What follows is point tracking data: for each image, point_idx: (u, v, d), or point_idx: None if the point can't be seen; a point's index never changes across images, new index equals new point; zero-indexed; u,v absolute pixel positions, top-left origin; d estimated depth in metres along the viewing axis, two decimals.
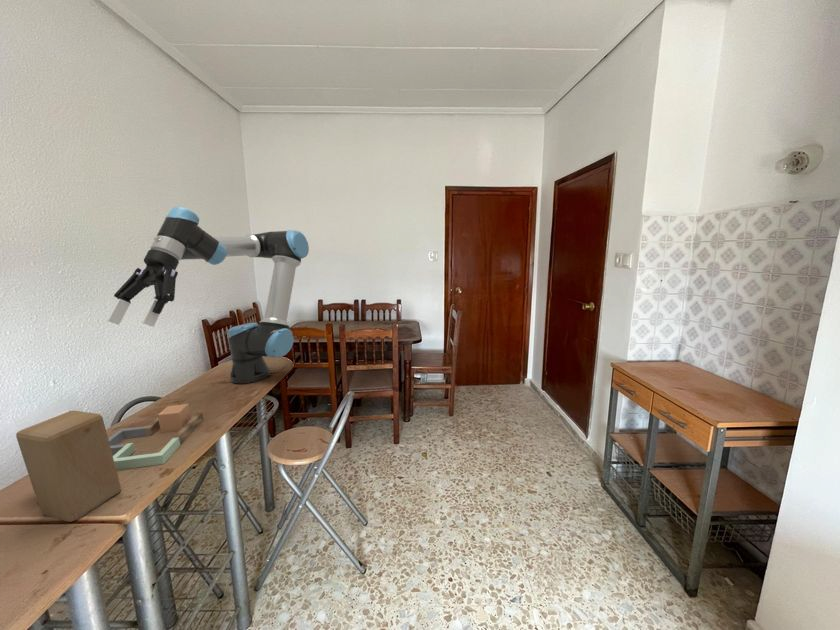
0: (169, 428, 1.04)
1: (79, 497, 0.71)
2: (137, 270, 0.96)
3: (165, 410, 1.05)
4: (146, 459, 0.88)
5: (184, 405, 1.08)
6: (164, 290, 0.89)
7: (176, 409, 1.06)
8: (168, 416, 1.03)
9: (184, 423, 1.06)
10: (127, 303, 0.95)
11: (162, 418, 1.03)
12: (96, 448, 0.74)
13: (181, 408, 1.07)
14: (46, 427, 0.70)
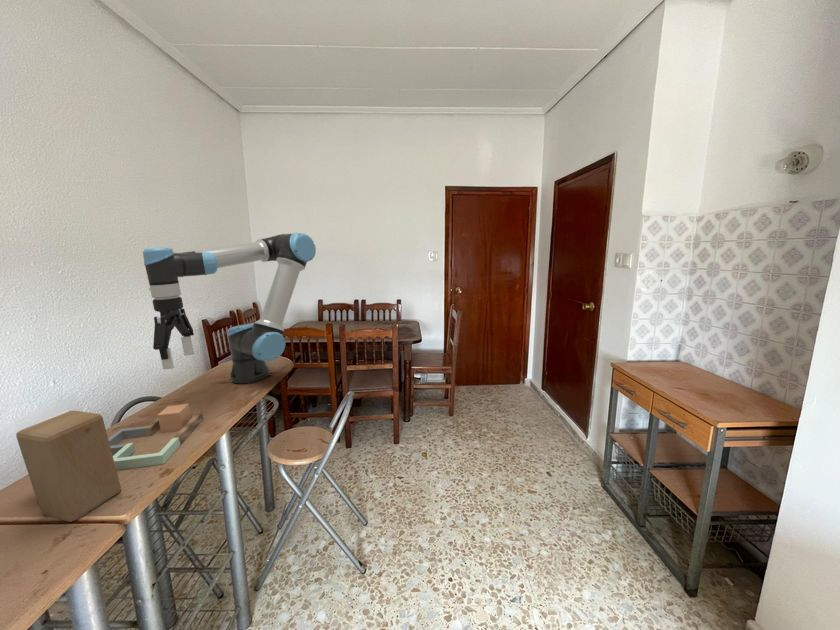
0: (169, 428, 1.04)
1: (79, 497, 0.71)
2: None
3: (165, 410, 1.05)
4: (146, 459, 0.88)
5: (184, 405, 1.08)
6: None
7: (176, 409, 1.06)
8: (168, 416, 1.03)
9: (184, 423, 1.06)
10: (187, 338, 1.16)
11: (162, 418, 1.03)
12: (96, 448, 0.74)
13: (181, 408, 1.07)
14: (46, 426, 0.70)
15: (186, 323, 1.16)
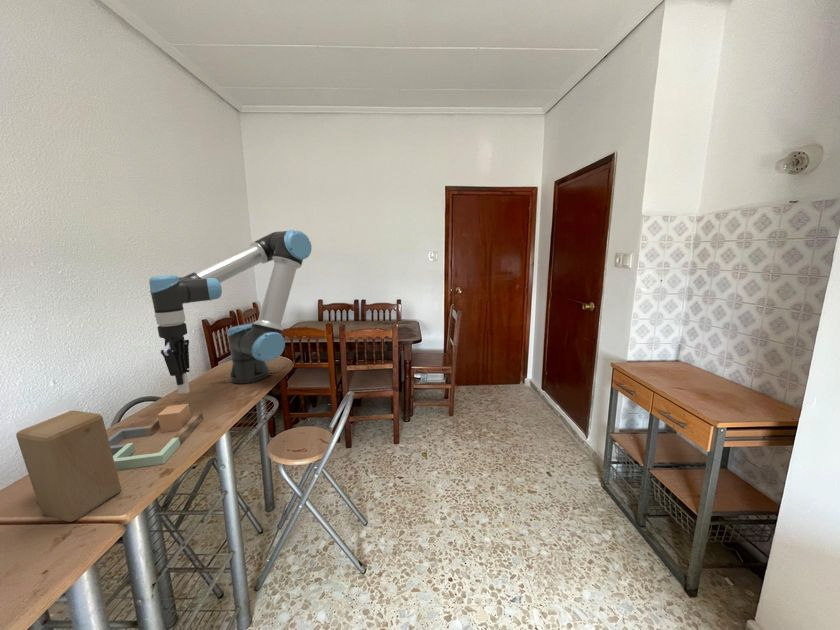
0: (169, 428, 1.04)
1: (79, 497, 0.71)
2: None
3: (165, 410, 1.05)
4: (146, 459, 0.88)
5: (184, 405, 1.08)
6: None
7: (176, 409, 1.06)
8: (168, 416, 1.03)
9: (184, 423, 1.06)
10: None
11: (162, 418, 1.03)
12: (96, 448, 0.74)
13: (181, 408, 1.07)
14: (46, 426, 0.70)
15: (185, 355, 1.14)
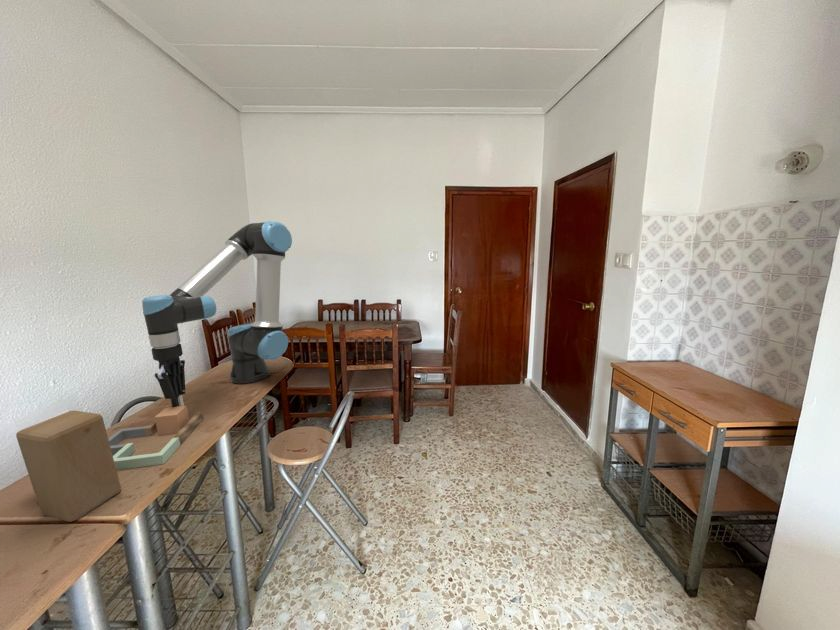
0: (166, 430, 1.03)
1: (79, 497, 0.71)
2: None
3: (162, 412, 1.04)
4: (146, 459, 0.88)
5: (182, 407, 1.07)
6: None
7: (174, 411, 1.04)
8: (165, 418, 1.02)
9: (182, 425, 1.05)
10: None
11: (159, 420, 1.02)
12: (96, 448, 0.74)
13: (178, 409, 1.05)
14: (46, 426, 0.70)
15: (181, 376, 1.11)
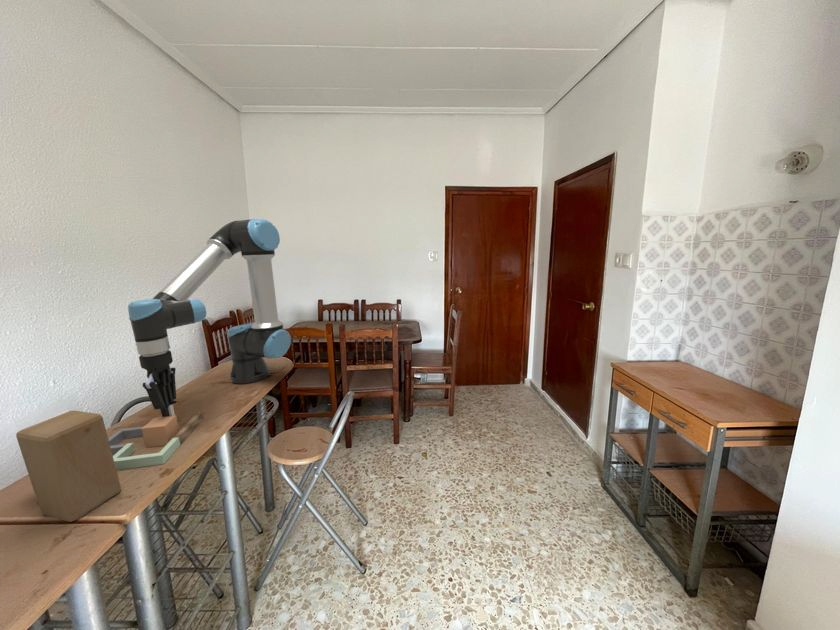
0: (154, 443, 0.96)
1: (79, 497, 0.71)
2: None
3: (150, 423, 0.98)
4: (146, 459, 0.88)
5: (171, 417, 1.01)
6: None
7: (163, 422, 0.98)
8: (153, 429, 0.95)
9: (171, 437, 0.98)
10: None
11: (147, 432, 0.95)
12: (96, 448, 0.74)
13: (167, 420, 0.99)
14: (46, 426, 0.70)
15: (171, 385, 1.05)
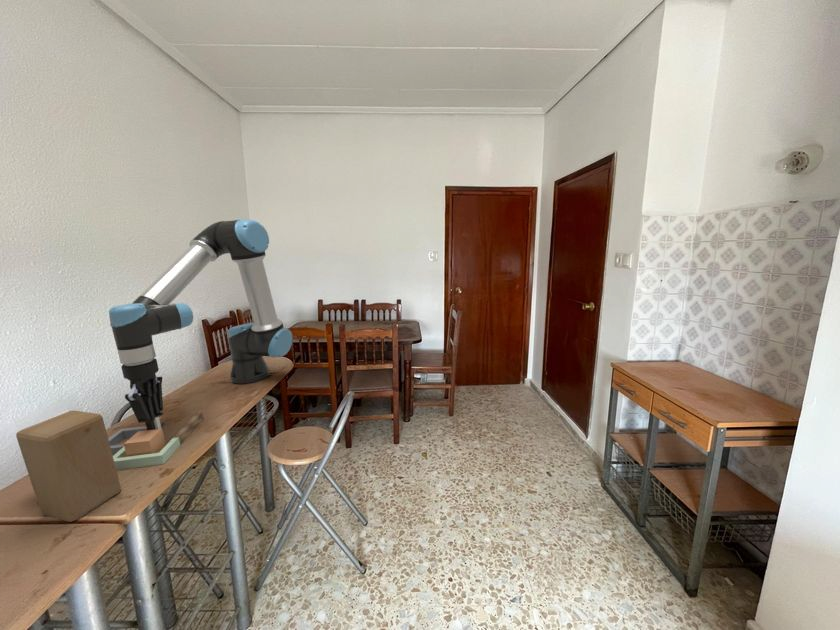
0: None
1: (79, 497, 0.71)
2: None
3: (134, 437, 0.90)
4: (146, 459, 0.88)
5: (157, 430, 0.93)
6: None
7: (147, 436, 0.91)
8: (136, 444, 0.88)
9: (156, 452, 0.91)
10: None
11: (129, 447, 0.88)
12: (96, 448, 0.74)
13: (152, 434, 0.92)
14: (46, 426, 0.70)
15: (158, 395, 0.98)
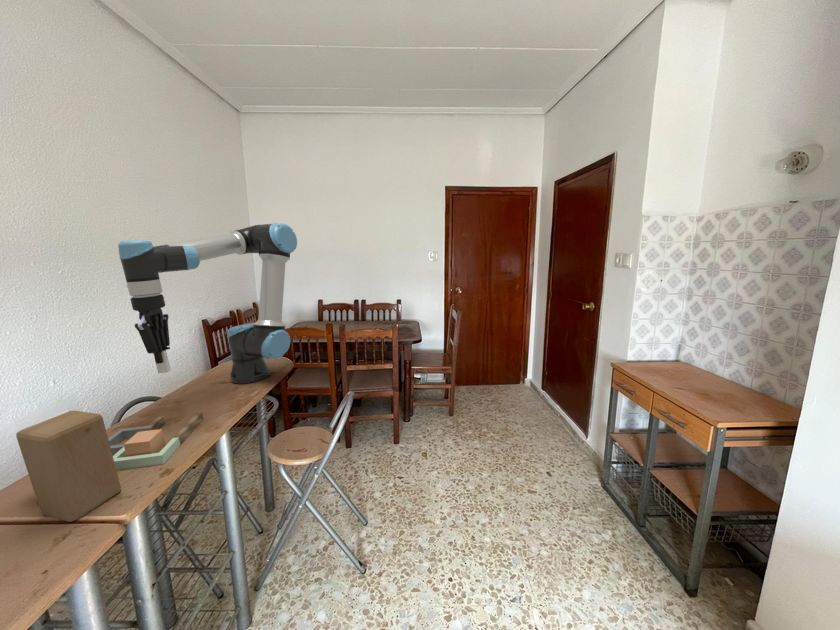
0: None
1: (79, 497, 0.71)
2: None
3: (134, 437, 0.90)
4: (146, 459, 0.88)
5: (157, 431, 0.93)
6: None
7: (147, 436, 0.91)
8: (136, 445, 0.88)
9: (156, 452, 0.91)
10: None
11: (129, 448, 0.88)
12: (96, 448, 0.74)
13: (152, 434, 0.92)
14: (46, 426, 0.70)
15: (165, 331, 1.03)
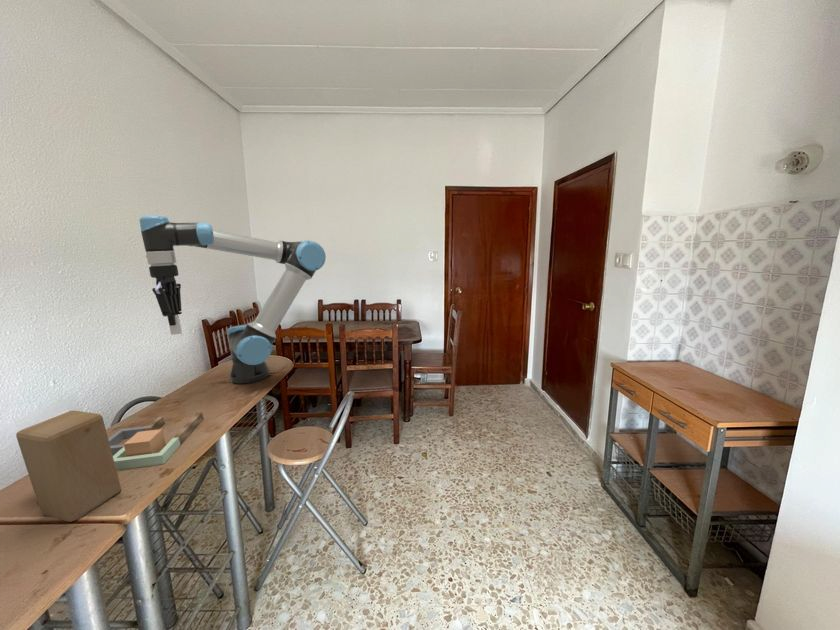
0: None
1: (79, 497, 0.71)
2: None
3: (134, 437, 0.90)
4: (146, 459, 0.88)
5: (157, 431, 0.93)
6: None
7: (147, 436, 0.91)
8: (136, 445, 0.88)
9: (156, 452, 0.91)
10: None
11: (129, 448, 0.88)
12: (96, 448, 0.74)
13: (152, 434, 0.92)
14: (46, 426, 0.70)
15: (177, 298, 1.17)
